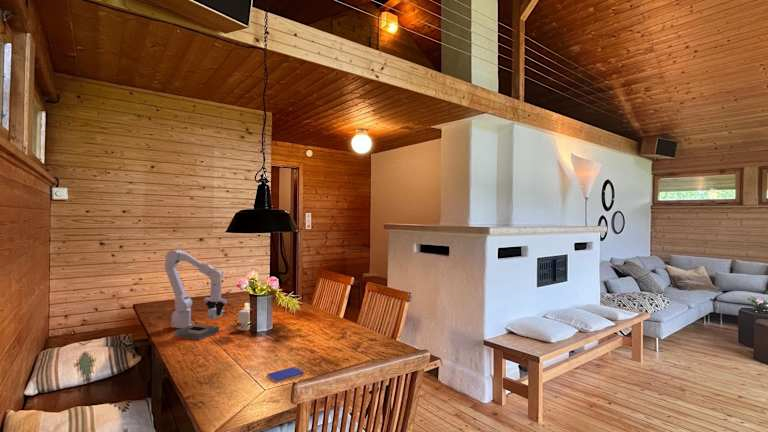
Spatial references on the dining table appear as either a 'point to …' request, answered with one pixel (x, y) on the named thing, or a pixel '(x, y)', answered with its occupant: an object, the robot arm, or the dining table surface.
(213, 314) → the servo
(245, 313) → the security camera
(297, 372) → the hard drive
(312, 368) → the dining table surface
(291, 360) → the dining table surface
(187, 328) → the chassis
